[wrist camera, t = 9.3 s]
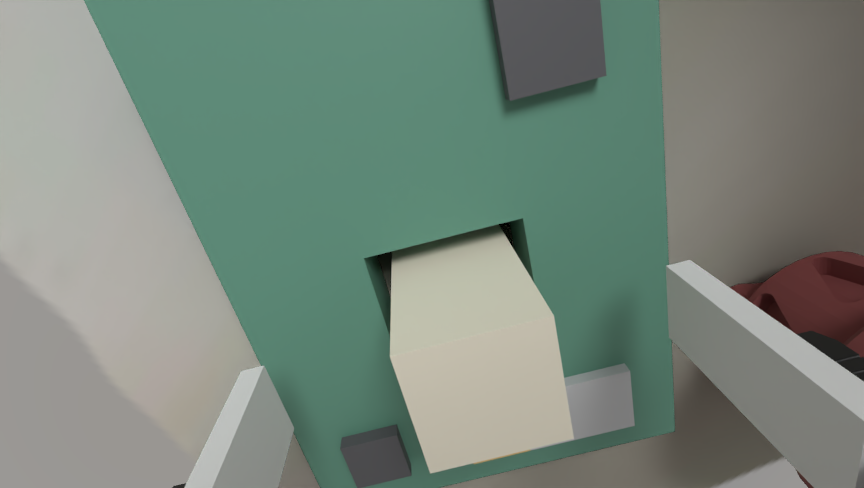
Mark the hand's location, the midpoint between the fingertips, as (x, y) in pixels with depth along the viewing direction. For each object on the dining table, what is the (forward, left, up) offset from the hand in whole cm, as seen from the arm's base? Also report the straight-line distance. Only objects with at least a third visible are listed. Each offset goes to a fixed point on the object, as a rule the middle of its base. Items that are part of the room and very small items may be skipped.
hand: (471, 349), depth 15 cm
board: (-2, 0, -6) cm, 6 cm away
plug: (0, 0, -6) cm, 6 cm away
